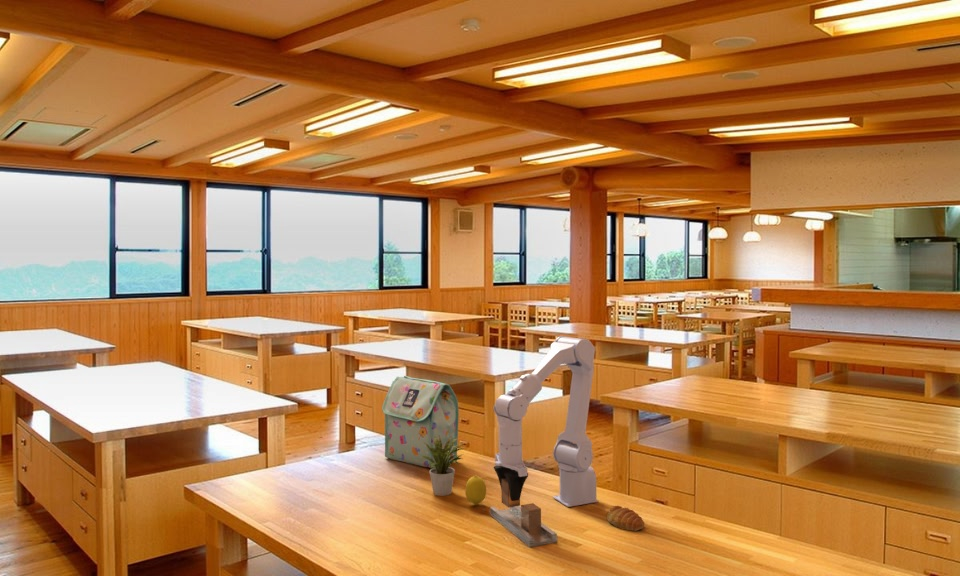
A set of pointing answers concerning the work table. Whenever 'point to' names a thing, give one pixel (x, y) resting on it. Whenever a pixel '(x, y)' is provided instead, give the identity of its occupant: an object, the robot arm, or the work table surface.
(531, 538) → the rail
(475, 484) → the lemon
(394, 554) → the work table surface
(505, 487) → the brown rectangular block
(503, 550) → the work table surface
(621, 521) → the pastry
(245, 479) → the work table surface
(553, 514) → the work table surface
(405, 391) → the lunch bag
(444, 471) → the house plant
